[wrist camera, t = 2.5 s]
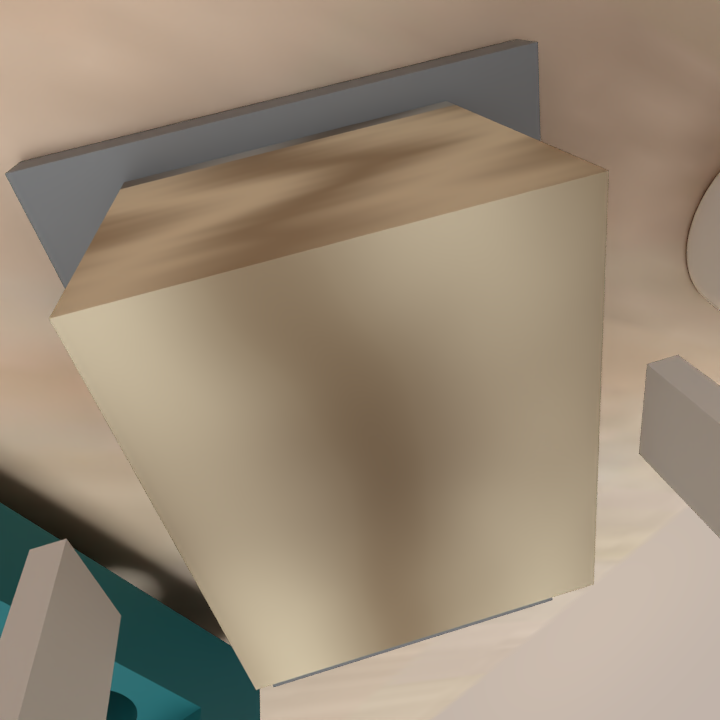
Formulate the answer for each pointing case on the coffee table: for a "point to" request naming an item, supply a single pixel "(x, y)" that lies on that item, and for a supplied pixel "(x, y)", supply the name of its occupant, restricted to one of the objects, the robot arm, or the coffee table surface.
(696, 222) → the candle holder
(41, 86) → the coffee table surface
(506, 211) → the block
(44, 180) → the board
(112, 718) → the teal l-shaped bracket
